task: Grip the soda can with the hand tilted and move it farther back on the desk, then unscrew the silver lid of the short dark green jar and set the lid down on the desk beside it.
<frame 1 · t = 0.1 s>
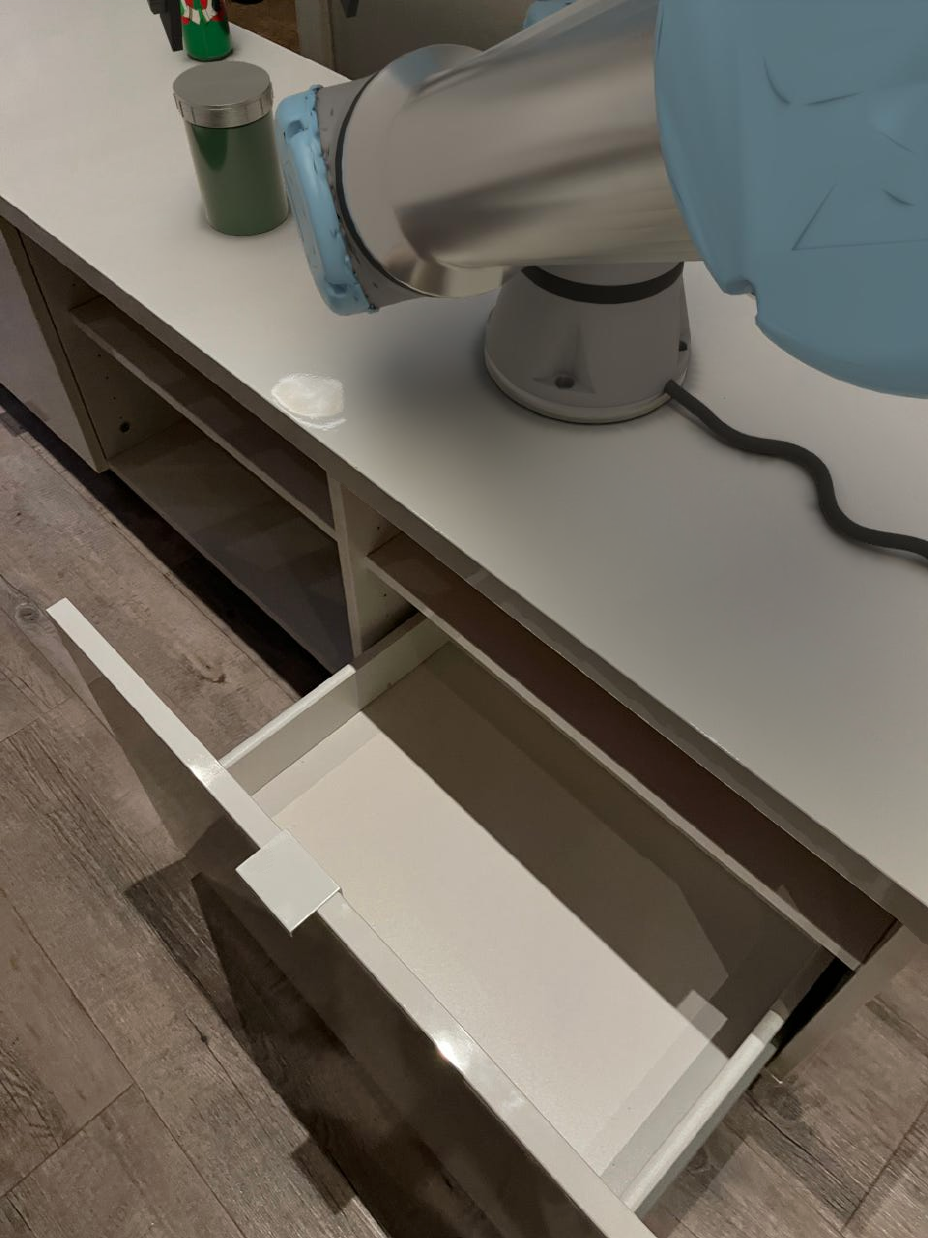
hand: (260, 16, 69), 15 cm above the table, tool tilted 35°, fingers open, 13 cm apart
lid: (222, 85, 73), point 11 cm above the table, screwed on, not yet turned
soda can: (210, 54, 100), on the table
jar: (247, 212, 81), on the table
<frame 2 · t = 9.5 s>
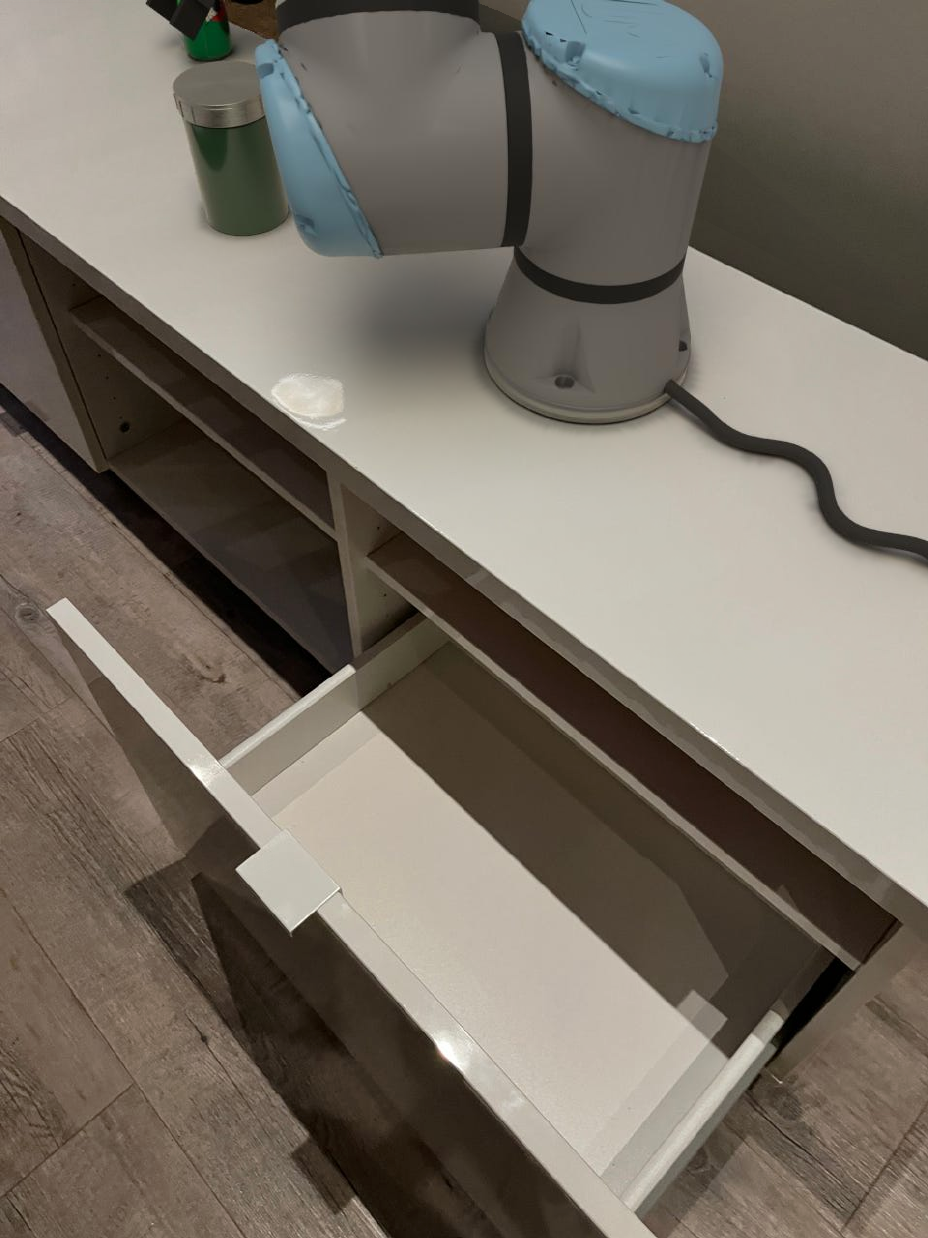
hand: (169, 21, 95), 4 cm above the table, tool tilted 45°, fingers closed on soda can, 5 cm apart
soda can: (210, 54, 100), on the table, touching gripper
everything else where it was.
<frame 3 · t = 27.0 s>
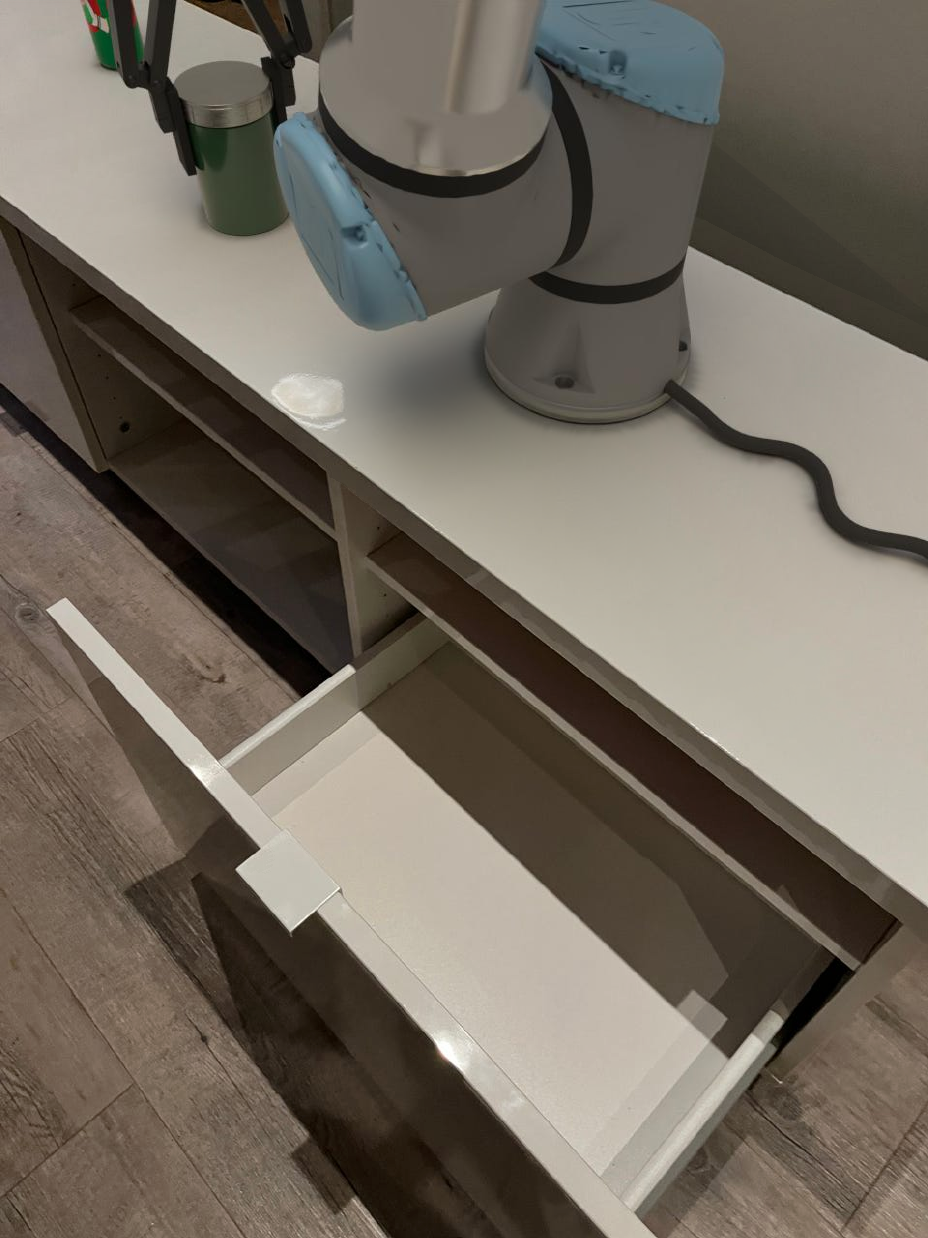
hand: (236, 156, 77), 5 cm above the table, tool pointing down, fingers closed on lid, 7 cm apart
lid: (222, 85, 73), point 11 cm above the table, screwed on, not yet turned, touching gripper
soda can: (124, 62, 99), on the table
everything else where it was.
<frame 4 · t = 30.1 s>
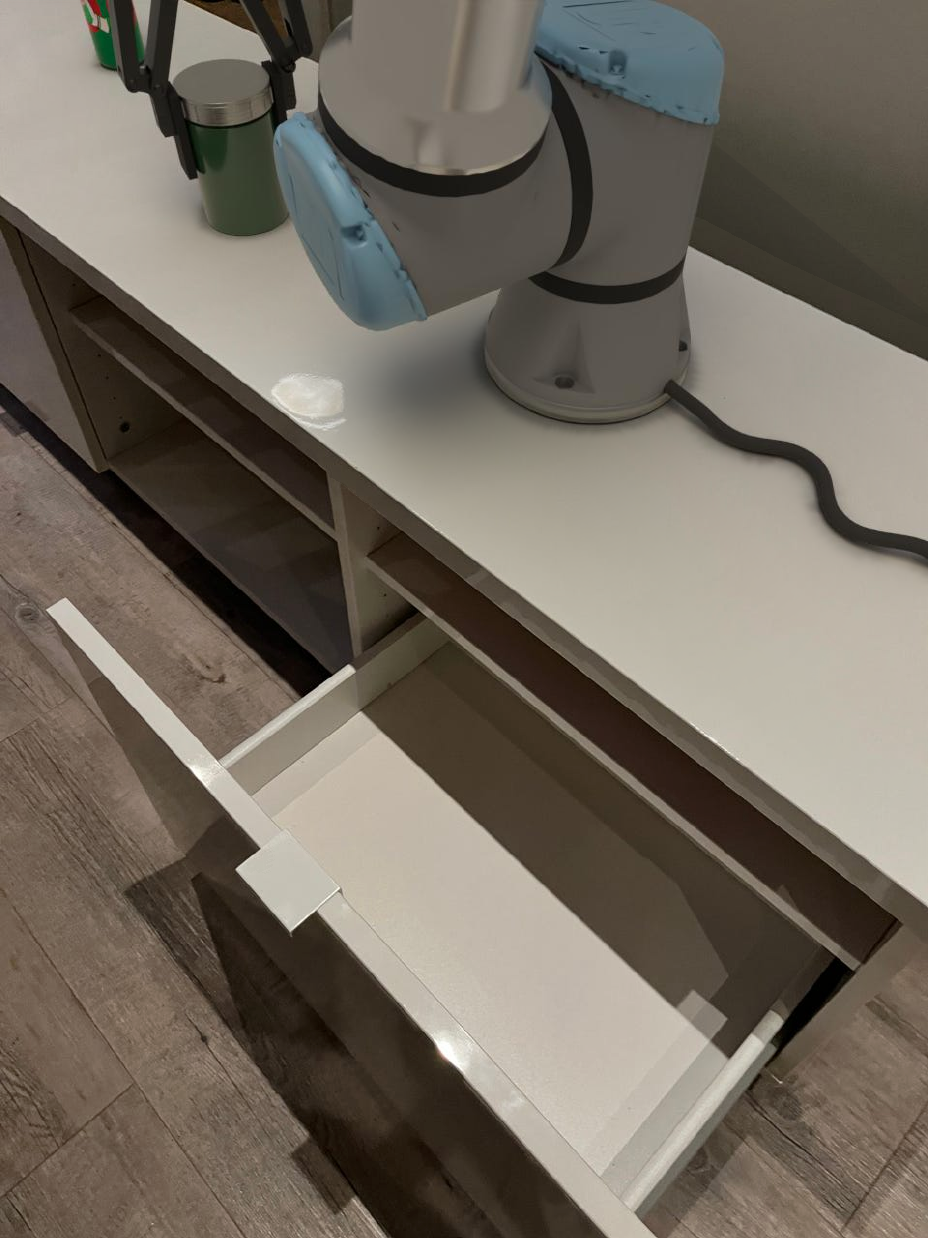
hand: (237, 159, 77), 5 cm above the table, tool pointing down, fingers closed on lid, 7 cm apart
lid: (221, 84, 73), point 11 cm above the table, turned 96° so far, risen 0.1 cm, still on its thread, touching gripper
everything else where it was.
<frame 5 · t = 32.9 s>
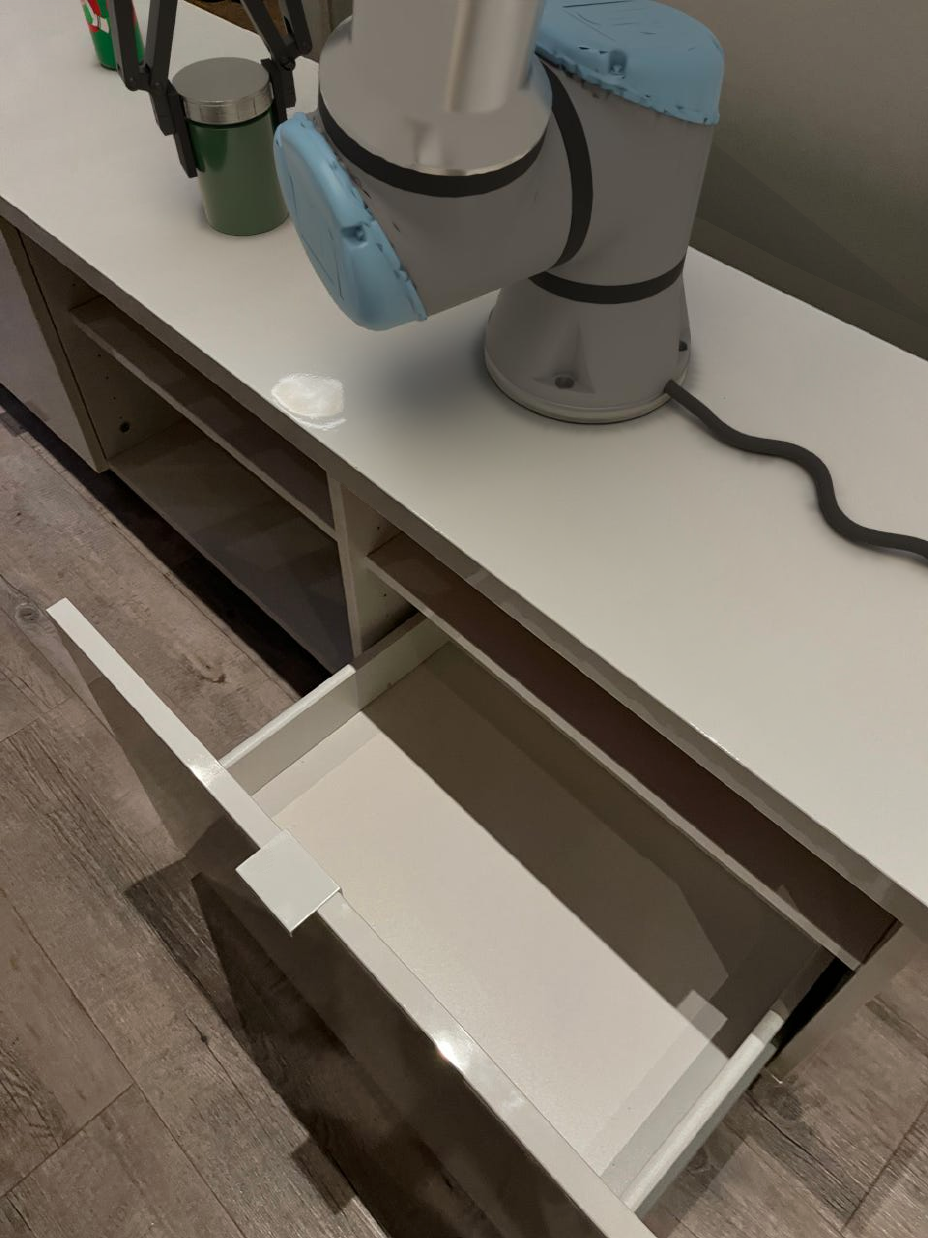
hand: (236, 157, 77), 5 cm above the table, tool pointing down, fingers closed on lid, 7 cm apart
lid: (221, 82, 73), point 11 cm above the table, turned 192° so far, risen 0.3 cm, still on its thread, touching gripper
everything else where it was.
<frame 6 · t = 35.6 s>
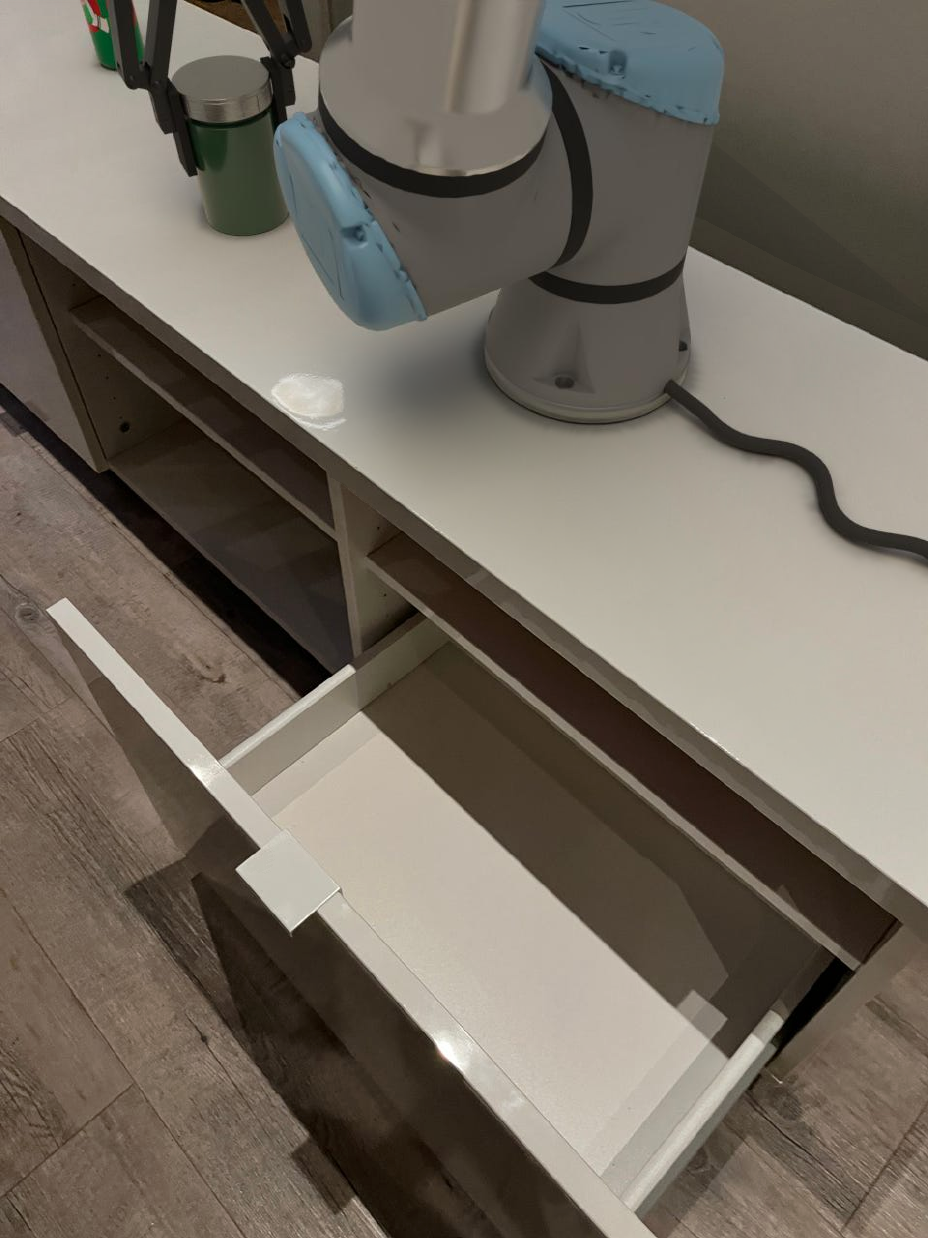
hand: (236, 156, 77), 5 cm above the table, tool pointing down, fingers closed on lid, 7 cm apart
lid: (221, 80, 72), point 11 cm above the table, turned 288° so far, risen 0.4 cm, still on its thread, touching gripper
everything else where it was.
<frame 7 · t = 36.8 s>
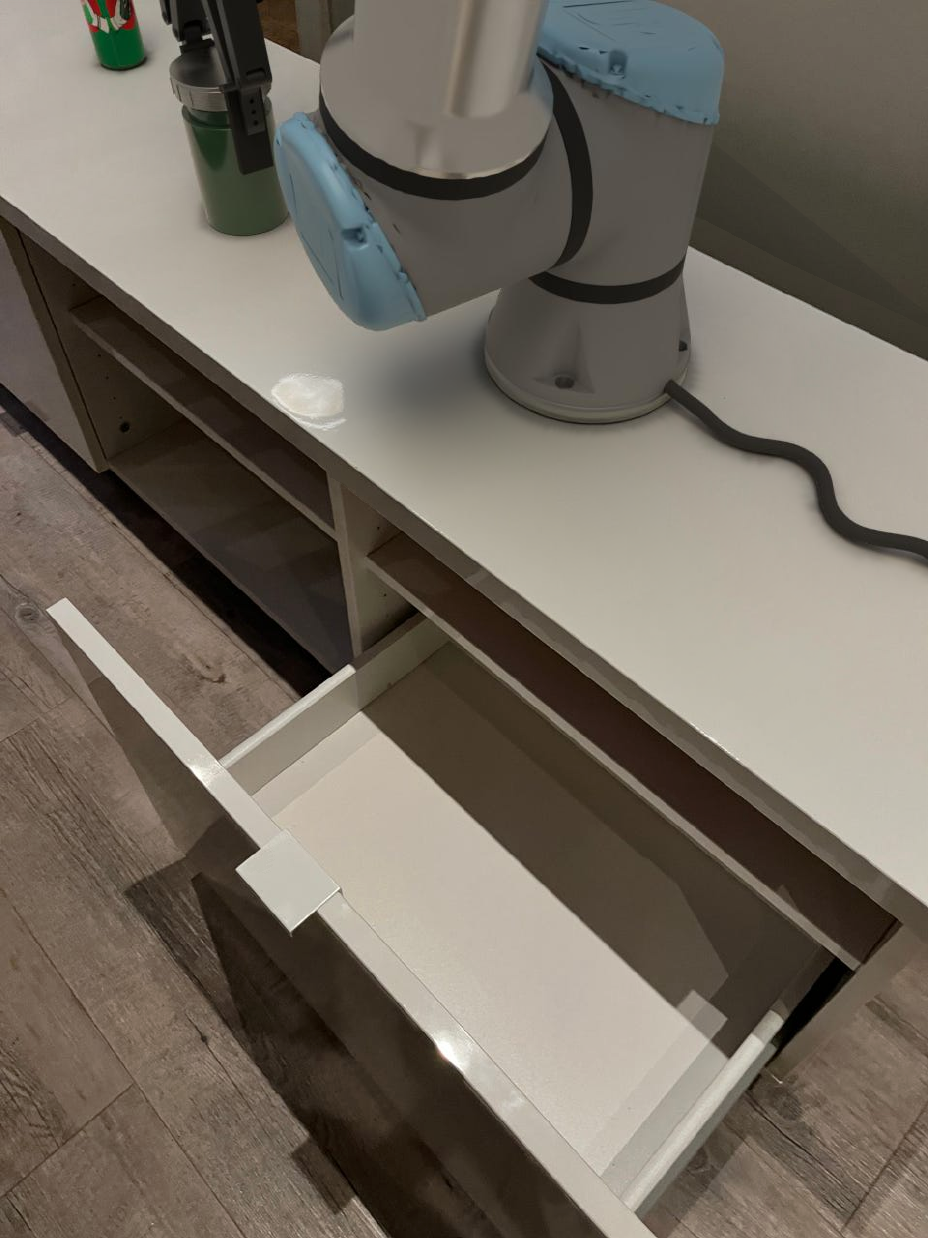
hand: (235, 146, 76), 6 cm above the table, tool pointing down, fingers closed on lid, 7 cm apart
lid: (219, 69, 72), point 12 cm above the table, off its thread, touching gripper
jar: (247, 212, 81), on the table, touching gripper
everything else where it was.
when the fingers open (2 cm above the table, at t = 45.2 s): lid drops 6 cm, point 1 cm above the table.
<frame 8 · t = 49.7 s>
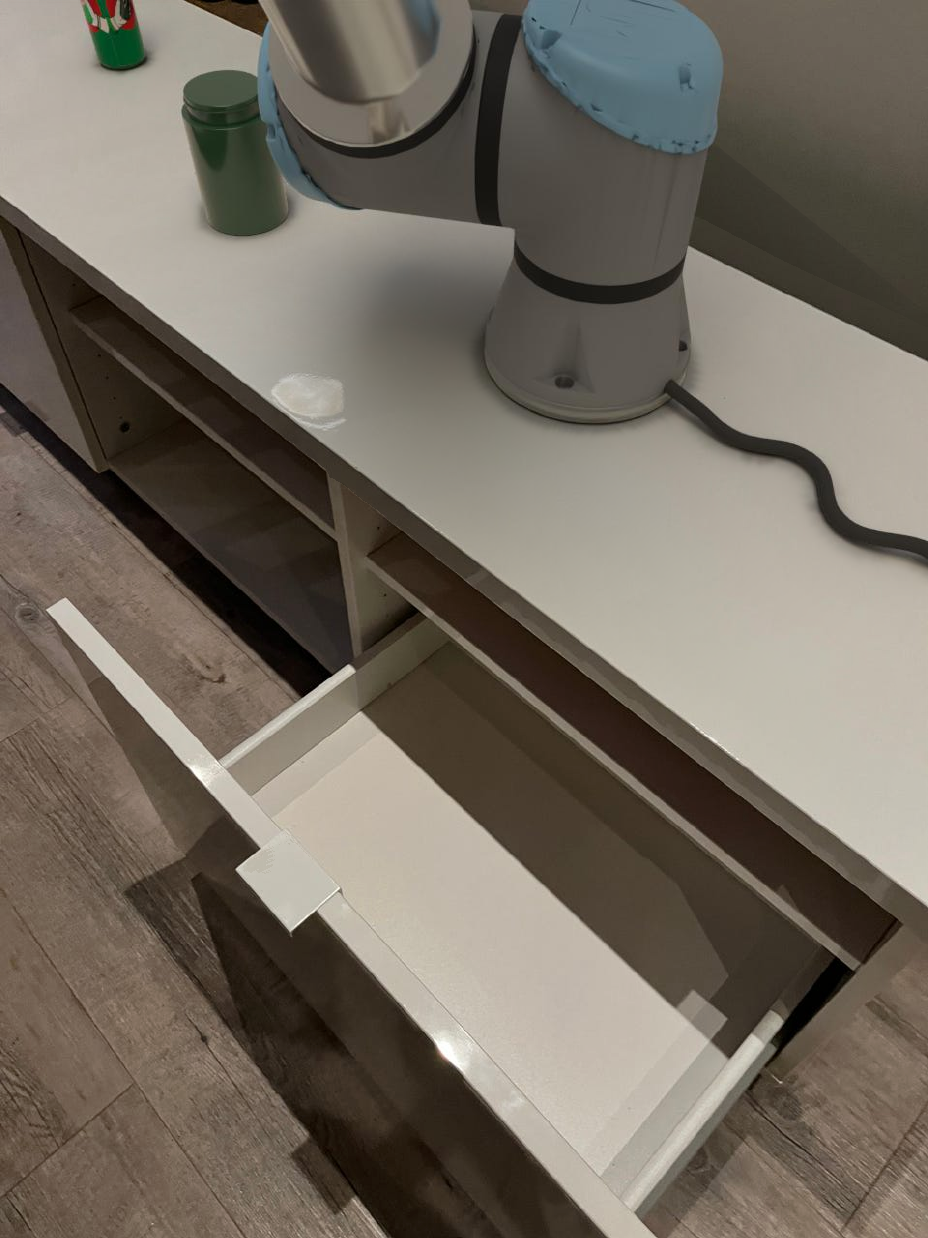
lid: (327, 124, 88), point 1 cm above the table, off its thread
jar: (247, 212, 81), on the table
everything else where it was.
at the end: lid point 1.4 cm above the table; the gripper is holding nothing; soda can inside the target area (0.0 cm from its centre), on the table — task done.
